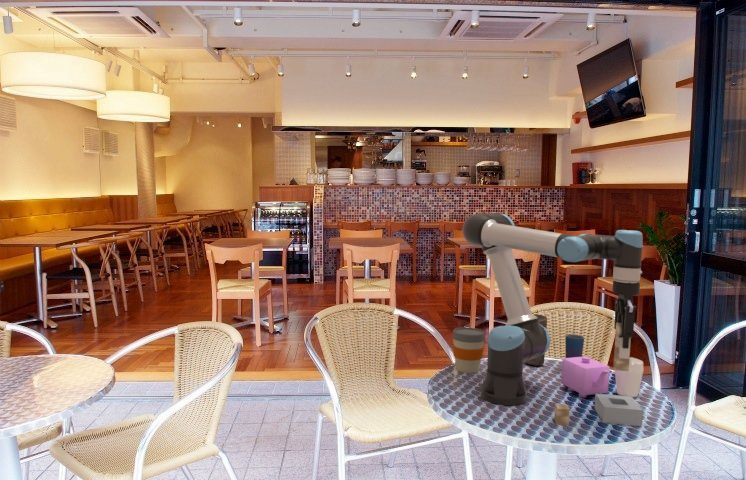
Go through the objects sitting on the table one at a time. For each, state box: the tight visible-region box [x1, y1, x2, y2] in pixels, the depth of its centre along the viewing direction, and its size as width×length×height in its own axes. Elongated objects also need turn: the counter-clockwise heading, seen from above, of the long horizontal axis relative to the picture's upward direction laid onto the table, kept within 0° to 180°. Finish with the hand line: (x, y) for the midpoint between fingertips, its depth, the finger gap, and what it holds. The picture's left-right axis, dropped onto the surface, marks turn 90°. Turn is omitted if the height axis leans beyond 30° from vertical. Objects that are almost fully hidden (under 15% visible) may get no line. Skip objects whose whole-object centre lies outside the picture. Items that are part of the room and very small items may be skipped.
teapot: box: [560, 355, 611, 399], centre depth 187 cm, size 20×10×12 cm, turn 19°
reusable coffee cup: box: [451, 326, 486, 374], centre depth 210 cm, size 13×13×15 cm
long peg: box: [613, 323, 632, 371], centre depth 166 cm, size 4×4×14 cm
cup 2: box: [614, 357, 644, 398], centre depth 187 cm, size 9×9×12 cm
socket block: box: [594, 393, 644, 427], centre depth 168 cm, size 11×11×5 cm
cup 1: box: [564, 333, 585, 358], centre depth 207 cm, size 7×7×15 cm
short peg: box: [554, 403, 571, 426], centre depth 163 cm, size 4×4×5 cm
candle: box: [524, 314, 548, 367], centre depth 217 cm, size 8×7×20 cm
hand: (621, 355), depth 166 cm, fingers closed on long peg, 3 cm apart
